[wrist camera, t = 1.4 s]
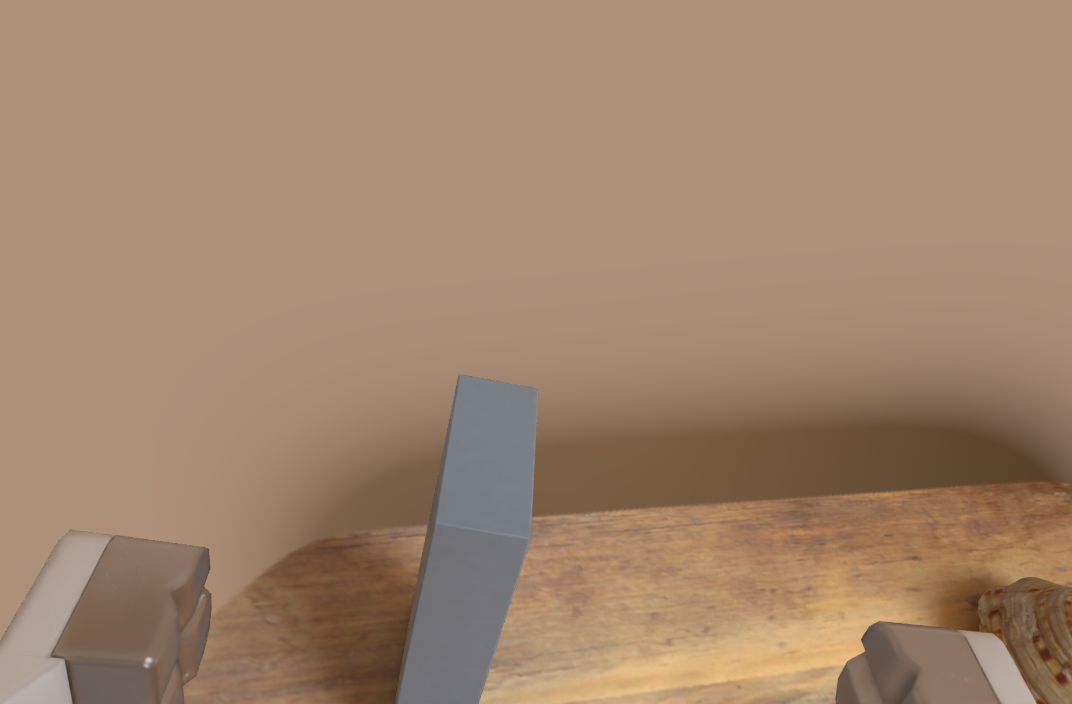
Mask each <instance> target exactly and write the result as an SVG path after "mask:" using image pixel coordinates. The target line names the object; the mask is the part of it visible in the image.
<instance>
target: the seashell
mask: <svg viewBox="0 0 1072 704" xmlns="http://www.w3.org/2000/svg"><path fill="white" fill-rule="evenodd" d="M978 605H979V607H978V615H979V618H980V620H981V623H980V625H979V629H980V630H979V632H983V633H992V634H994V635H995V636H997V637H998V638H999V639H1000V640H1001V641H1002V642H1003V643H1004V645H1005V647H1006V648H1007V650H1008V652H1009V654H1010V656H1011V658H1012V659H1013V661H1014V663H1015V665H1016V667H1017V669H1018V670H1019V672H1020V674H1021V676H1022V678H1023V680H1024V681H1025V683H1026V685H1027V687H1028V689H1029V690H1030V692H1031V694H1032V696H1033V698H1034V700H1035V701H1036V703H1037V704H1072V588H1069V587H1065V586H1061V585H1058V584H1055V583H1052V582H1049V581H1046V580H1043V579H1039V578H1036V577H1027V578H1022V579H1020V580H1018V581H1016V582H1015V583H1013V584H1011V585H1010V586H1001V587H994V588H990V589H988V590H985V592H984V593H983V595H982V596H981V598H980V599H979V602H978Z"/></svg>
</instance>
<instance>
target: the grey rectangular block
mask: <svg viewBox="0 0 1072 704" xmlns="http://www.w3.org/2000/svg"><path fill="white" fill-rule="evenodd" d="M537 404H538V389H537V388H532V387H527V386H521V385H516V384H510V383H505V382H499V381H494V380H489V379H483V378H478V377H472V376H467V375H459V376H458V380H457V385H456V390H455V395H454V400H453V405H452V410H451V415H450V420H449V425H448V429H447V435H446V439H445V445H444V449H443V454H442V459H441V464H440V469H439V474H438V479H437V484H436V488H435V494H434V498H433V504H432V508H431V513H430V518H429V523H428V528H427V533H426V538H425V543H424V548H423V552H422V557H421V562H420V567H419V572H418V577H417V582H416V587H415V592H414V597H413V602H412V607H411V612H410V618H409V624H408V629H407V635H406V641H405V646H404V652H403V658H402V664H401V669H400V675H399V681H398V686H397V692H396V698H395V704H479V701H480V698H481V695H482V692H483V689H484V685H485V682H486V679H487V676H488V673H489V670H490V666H491V663H492V660H493V657H494V654H495V651H496V647H497V644H498V641H499V638H500V635H501V632H502V628H503V625H504V622H505V619H506V616H507V613H508V609H509V606H510V603H511V600H512V597H513V594H514V590H515V587H516V584H517V581H518V578H519V575H520V571H521V568H522V565H523V562H524V559H525V555H526V552H527V549H528V546H529V543H530V540H531V525H532V505H533V484H534V465H535V445H536V424H537V406H538V405H537Z"/></svg>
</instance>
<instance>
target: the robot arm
mask: <svg viewBox="0 0 1072 704" xmlns="http://www.w3.org/2000/svg"><path fill="white" fill-rule="evenodd" d="M209 558H210V557H209V549H208V548H205V547H198V546H191V545H184V544H177V543H169V542H162V541H155V540H147V539H139V538H133V537H125V536H118V535H117V536H116V535H108V534H100V533H92V532H84V531H76V530H70V531H68V533H66V534H65V535H64V536H63V537H62V538H61V539H60V540H59V541H58V542H57V544H56V546H55V547H54V549H53V551H52V552H51V554H50V556H49V557H48V559H47V561H46V563H45V564H44V566H43V568H42V570H41V571H40V573H39V575H38V576H37V578H36V580H35V582H34V583H33V585H32V587H31V588H30V590H29V592H28V594H27V595H26V597H25V599H24V601H23V602H22V604H21V606H20V608H19V609H18V611H17V613H16V614H15V616H14V618H13V620H12V621H11V623H10V625H9V626H8V628H7V630H6V632H5V634H4V635H3V637H2V638H1V640H0V704H184V695H183V686H184V685H185V684H186V683H187V682H189V681H190V680H191V679H192V678H194V677H195V676H196V675H197V672H198V669H199V666H200V663H201V660H202V657H203V654H204V650H205V645H206V641H207V636H208V632H209V628H210V618H211V594H210V593H209V592H208V590H207V589H206V588H205V587H204V585H205V582H206V579H207V576H208V574H209V571H210V559H209ZM861 640H862V643H863V646H864V648H865V652H864V653H862V654H860V655H858V656H856V657H854V658H853V659H851V660H849V661H847V663H846V665H845V667H844V669H843V670H842V672H841V674H840V676H839V678H838V683H837V692H836V704H1037V703H1036V701H1035V700H1034V698H1033V696H1032V694H1031V692H1030V690H1029V689H1028V687H1027V685H1026V683H1025V681H1024V680H1023V678H1022V676H1021V674H1020V672H1019V670H1018V669H1017V667H1016V665H1015V663H1014V661H1013V659H1012V658H1011V656H1010V654H1009V652H1008V650H1007V648H1006V647H1005V645H1004V643H1003V642H1002V641H1001V640H1000V639H999V638H998V637H997V636H995V635H994V634H992V633H983V632H974V631H965V630H956V629H955V630H951V629H949V628H943V627H932V626H922V625H912V624H902V623H892V622H881V621H879V622H877V623H875V624H873V625H871V626H869V628H868V629H867V631H866V632H865V634H864V635H863V637H862V639H861Z"/></svg>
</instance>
